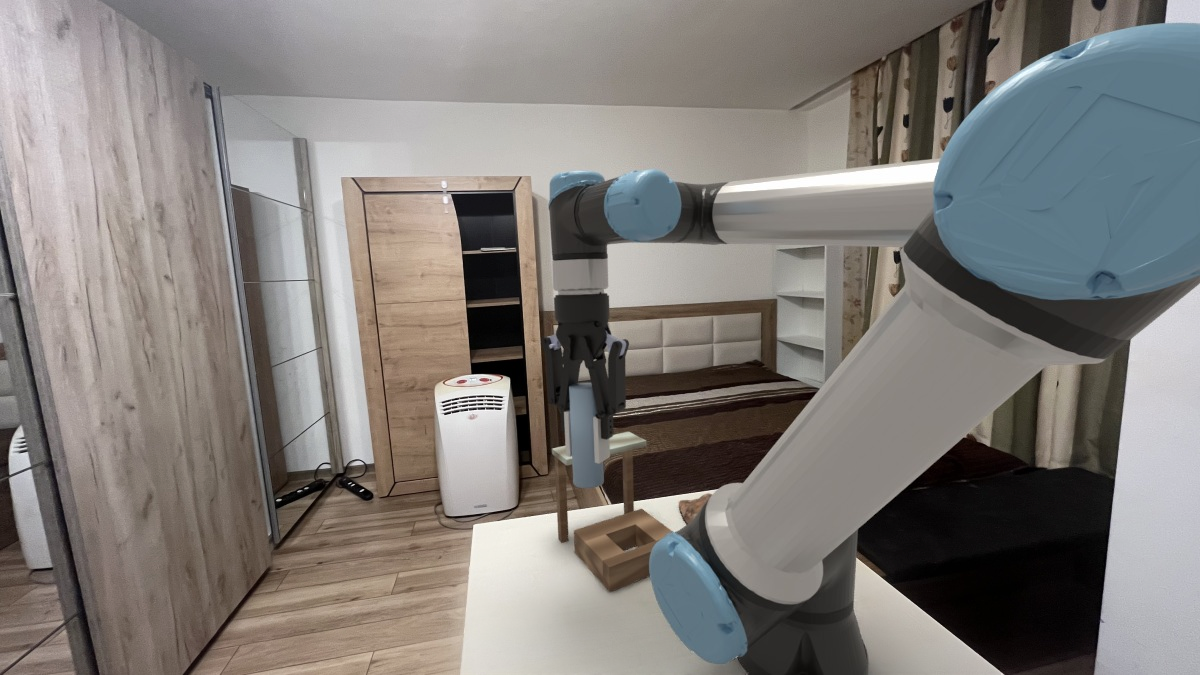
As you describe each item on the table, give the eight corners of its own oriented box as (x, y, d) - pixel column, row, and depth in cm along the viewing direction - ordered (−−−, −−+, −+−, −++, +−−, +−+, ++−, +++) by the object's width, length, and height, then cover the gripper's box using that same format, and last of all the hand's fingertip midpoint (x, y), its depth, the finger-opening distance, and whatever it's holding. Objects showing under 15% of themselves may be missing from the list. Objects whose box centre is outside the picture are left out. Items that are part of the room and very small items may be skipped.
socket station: (688, 560, 78) (687, 461, 76) (604, 594, 70) (600, 486, 68) (630, 514, 93) (628, 431, 91) (556, 538, 85) (551, 448, 83)
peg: (609, 479, 68) (606, 384, 67) (592, 491, 65) (588, 391, 63) (585, 472, 71) (581, 381, 69) (567, 483, 67) (562, 387, 65)
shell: (732, 502, 98) (732, 486, 97) (752, 536, 85) (753, 517, 85) (676, 504, 98) (676, 487, 97) (688, 538, 85) (688, 519, 84)
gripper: (650, 290, 63) (654, 459, 66) (550, 291, 72) (557, 438, 75) (621, 293, 56) (626, 479, 59) (515, 294, 66) (524, 454, 69)
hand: (587, 456), depth 67 cm, fingers closed on peg, 4 cm apart
